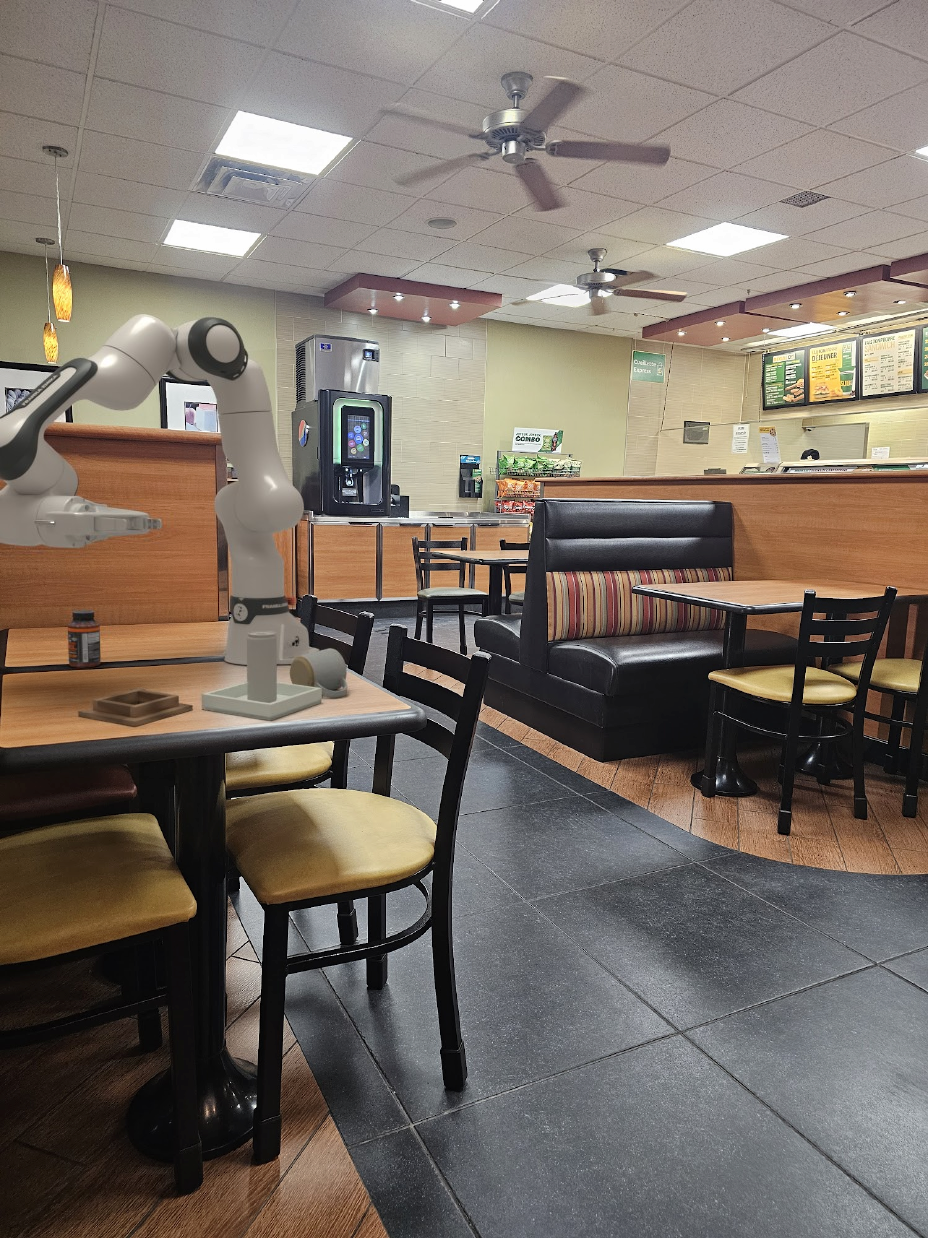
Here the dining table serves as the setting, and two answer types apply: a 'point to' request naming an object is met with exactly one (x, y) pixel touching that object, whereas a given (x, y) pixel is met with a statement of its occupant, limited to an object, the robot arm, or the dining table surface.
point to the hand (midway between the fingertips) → (144, 524)
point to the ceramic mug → (321, 672)
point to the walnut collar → (135, 707)
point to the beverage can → (262, 666)
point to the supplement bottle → (84, 640)
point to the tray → (286, 703)
